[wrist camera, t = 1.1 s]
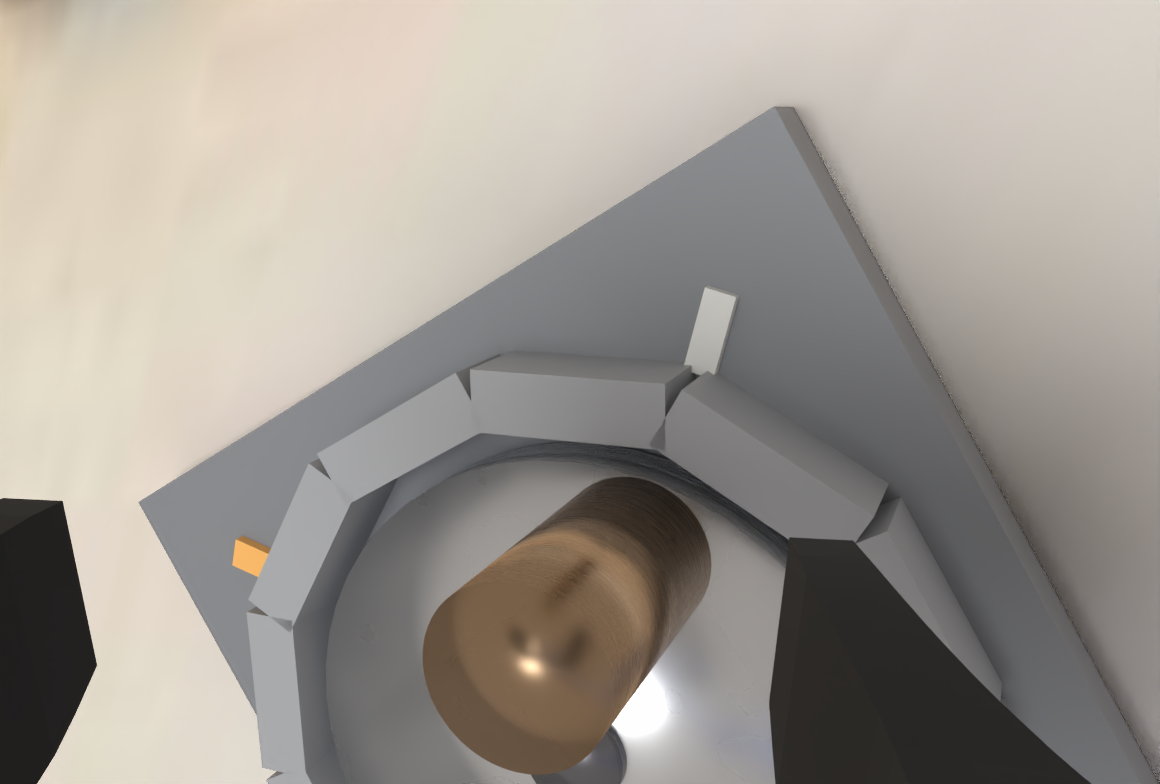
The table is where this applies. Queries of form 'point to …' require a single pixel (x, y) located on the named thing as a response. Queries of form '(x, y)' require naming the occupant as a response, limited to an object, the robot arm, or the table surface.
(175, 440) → the table surface
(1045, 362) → the table surface
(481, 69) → the table surface
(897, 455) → the dial plate
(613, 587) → the dial
